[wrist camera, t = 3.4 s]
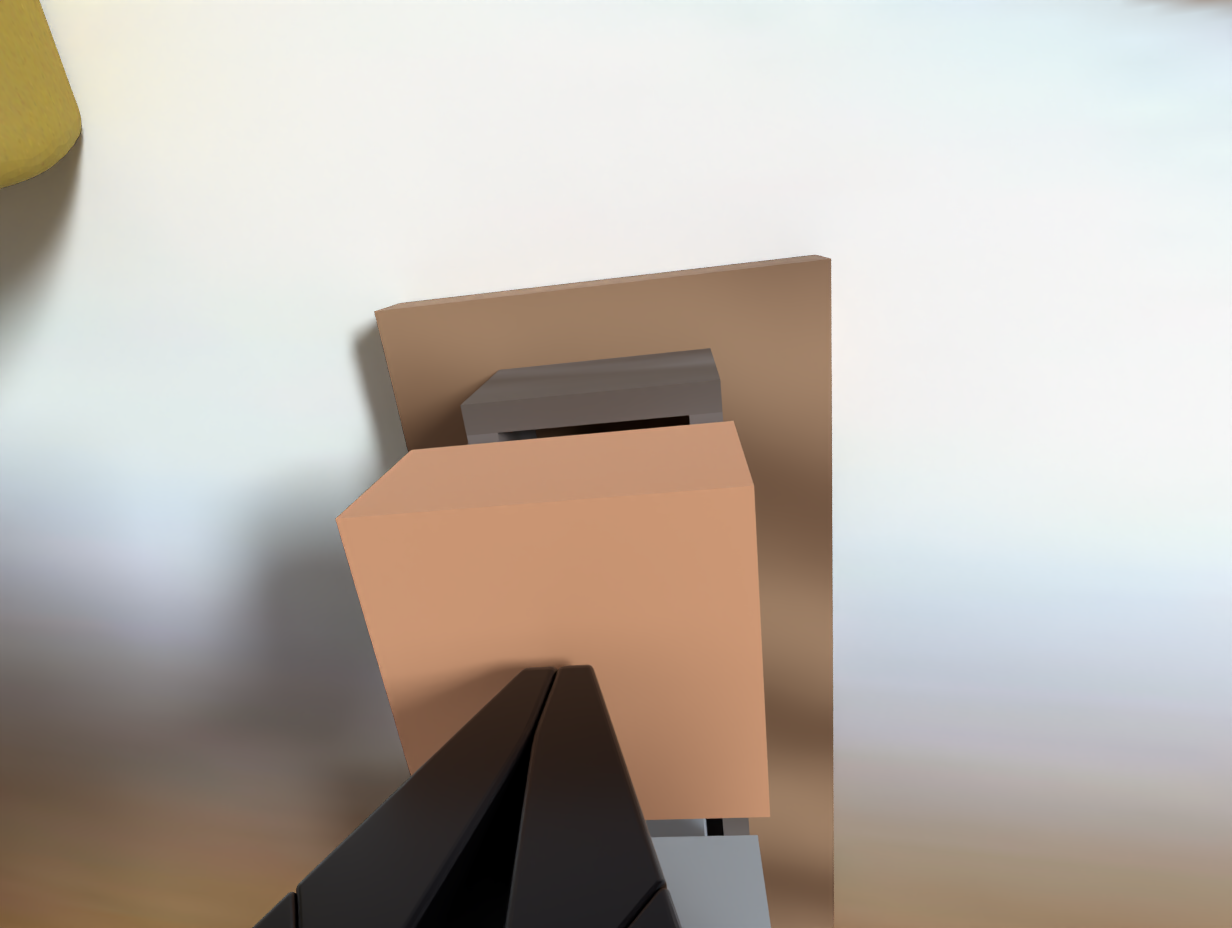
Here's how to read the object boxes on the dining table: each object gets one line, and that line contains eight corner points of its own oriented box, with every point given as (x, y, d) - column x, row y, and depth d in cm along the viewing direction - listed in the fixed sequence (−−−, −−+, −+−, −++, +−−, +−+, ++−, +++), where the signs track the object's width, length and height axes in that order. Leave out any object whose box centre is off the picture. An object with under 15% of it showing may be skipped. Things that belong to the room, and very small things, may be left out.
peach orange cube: (732, 597, 14) (770, 817, 9) (511, 610, 14) (425, 824, 9) (718, 373, 12) (753, 485, 7) (467, 398, 13) (335, 519, 8)
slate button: (750, 870, 16) (787, 1157, 11) (564, 872, 17) (520, 1148, 12) (740, 719, 15) (778, 976, 10) (534, 726, 15) (469, 975, 10)
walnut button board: (823, 958, 23) (858, 1121, 19) (548, 958, 24) (523, 1112, 20) (815, 254, 15) (873, 269, 11) (399, 303, 16) (305, 333, 12)
